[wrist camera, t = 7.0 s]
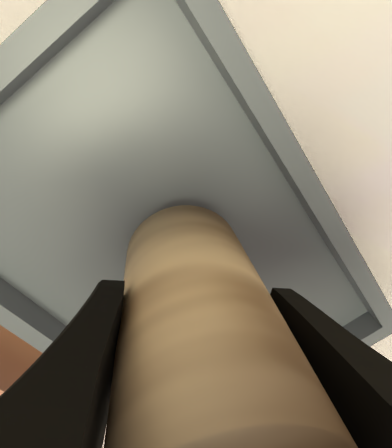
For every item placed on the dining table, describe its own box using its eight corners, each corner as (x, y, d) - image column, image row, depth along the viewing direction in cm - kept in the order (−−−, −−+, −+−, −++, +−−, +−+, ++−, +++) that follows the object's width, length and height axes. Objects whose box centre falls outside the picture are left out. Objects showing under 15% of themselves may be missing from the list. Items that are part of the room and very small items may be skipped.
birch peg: (256, 266, 13) (395, 502, 6) (168, 318, 13) (193, 597, 6) (202, 182, 11) (307, 376, 4) (102, 247, 11) (27, 526, 4)
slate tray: (378, 304, 17) (402, 327, 16) (187, 421, 20) (191, 452, 18) (156, -75, 9) (158, -107, 8) (-127, 191, 12) (-173, 209, 10)
